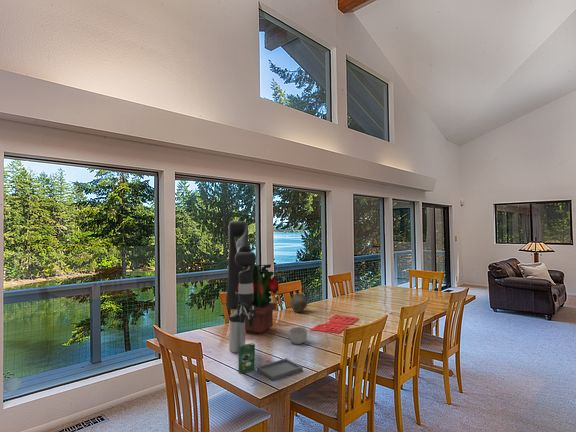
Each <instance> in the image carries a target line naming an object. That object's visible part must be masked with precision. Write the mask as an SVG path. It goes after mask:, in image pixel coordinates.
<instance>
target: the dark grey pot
mask: <svg viewBox="0 0 576 432" xmlns="http://www.w3.org/2000/svg"><path fill="white" fill-rule="evenodd" d="M307 305H308V299H307V298H306V296H305V295H304V293H295V294H294V295H293V296H292V297H291V300H290V307H291V309H292V310H293V312H295V313H301V312H303V311H305V309H306V308H307V307H308V306H307Z"/></svg>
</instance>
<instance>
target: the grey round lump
mask: <svg viewBox="0 0 576 432" xmlns="http://www.w3.org/2000/svg"><path fill="white" fill-rule="evenodd" d="M288 332H289V339H290V341H291V342H292V343H293V344H294V345H302V344H304V343H305V342H307V339H308V335H307V334H308V331H307V328H306V327H304V326H303V327H302V326H301V327H300V326H297V327H296V326H292V327H291V328H289V330H288Z"/></svg>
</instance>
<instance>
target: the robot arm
mask: <svg viewBox="0 0 576 432" xmlns="http://www.w3.org/2000/svg"><path fill="white" fill-rule="evenodd" d="M249 236H250V235H249V225H248V223H247V222H246V221H243V220H230V221H229V223H228V260H227V261H228V264H227V285H226V286H227V288H226V294H225V295H226V296H225V303H226V306H227V307H226V308H227V309H228V310H234V311H233V312H232V313H231V314H230V315H229V317H228V318H229V319H228V326H229V327H228V328H229V331H228V332H229V333H228V343H229V345H228V348H229V352H232V353H239V345H245V344H246V330H245V316H246V315H247V316H248V326H249V327H251V326H253V318H256V313H255V305H254V306H252V304H251V302H253V300H254V292H253V270H254V266H255V265H256V262H257V256H256V253H255V252H254V251H251V246H250V239H249ZM235 238H238V239H237V241H236V240H235ZM244 266H249V267H248V269H247V270H244V268H245V267H244ZM238 282H239V287H238V292H236V286H237V283H238ZM252 310H253V311H252ZM253 314H254V316H253Z"/></svg>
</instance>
